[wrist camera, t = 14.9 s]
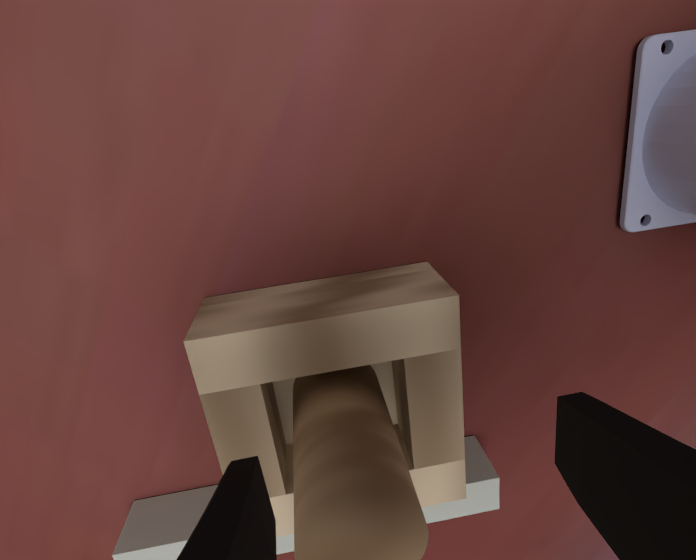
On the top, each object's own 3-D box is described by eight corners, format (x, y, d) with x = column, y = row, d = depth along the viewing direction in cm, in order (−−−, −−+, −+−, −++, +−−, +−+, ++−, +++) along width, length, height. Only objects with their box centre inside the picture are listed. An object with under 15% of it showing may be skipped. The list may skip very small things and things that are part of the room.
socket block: (427, 261, 20) (458, 295, 16) (438, 437, 23) (466, 498, 20) (204, 297, 19) (183, 341, 15) (250, 473, 23) (243, 543, 19)
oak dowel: (393, 368, 20) (452, 512, 13) (355, 435, 21) (391, 603, 14) (314, 340, 19) (329, 477, 12) (279, 411, 20) (273, 579, 13)
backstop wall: (474, 435, 24) (499, 477, 21) (475, 463, 24) (499, 508, 22) (133, 500, 22) (111, 555, 20) (145, 529, 23) (125, 585, 20)
